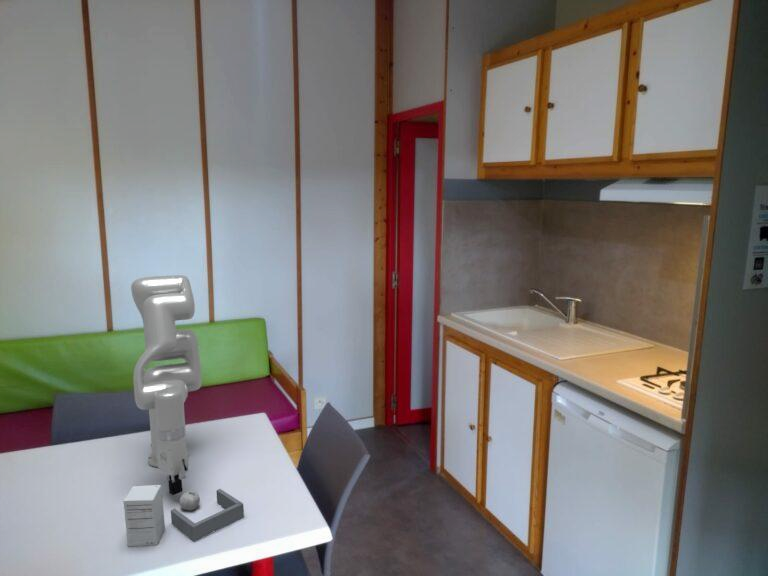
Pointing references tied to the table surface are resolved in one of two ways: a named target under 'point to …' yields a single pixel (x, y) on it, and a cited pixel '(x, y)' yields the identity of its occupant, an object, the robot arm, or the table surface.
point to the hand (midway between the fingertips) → (175, 492)
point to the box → (212, 523)
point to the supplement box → (144, 515)
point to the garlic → (189, 500)
